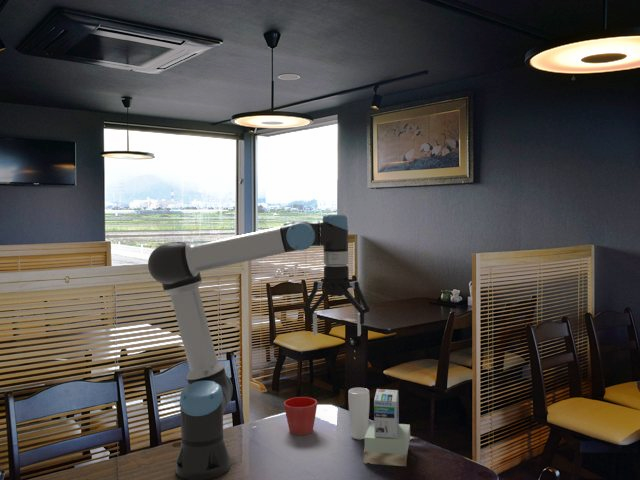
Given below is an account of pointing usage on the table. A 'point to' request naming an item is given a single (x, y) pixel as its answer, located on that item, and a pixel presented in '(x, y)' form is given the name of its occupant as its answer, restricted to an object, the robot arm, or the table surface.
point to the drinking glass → (359, 411)
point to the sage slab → (388, 441)
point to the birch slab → (385, 458)
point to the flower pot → (300, 414)
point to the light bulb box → (386, 413)
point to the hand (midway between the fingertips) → (337, 334)
